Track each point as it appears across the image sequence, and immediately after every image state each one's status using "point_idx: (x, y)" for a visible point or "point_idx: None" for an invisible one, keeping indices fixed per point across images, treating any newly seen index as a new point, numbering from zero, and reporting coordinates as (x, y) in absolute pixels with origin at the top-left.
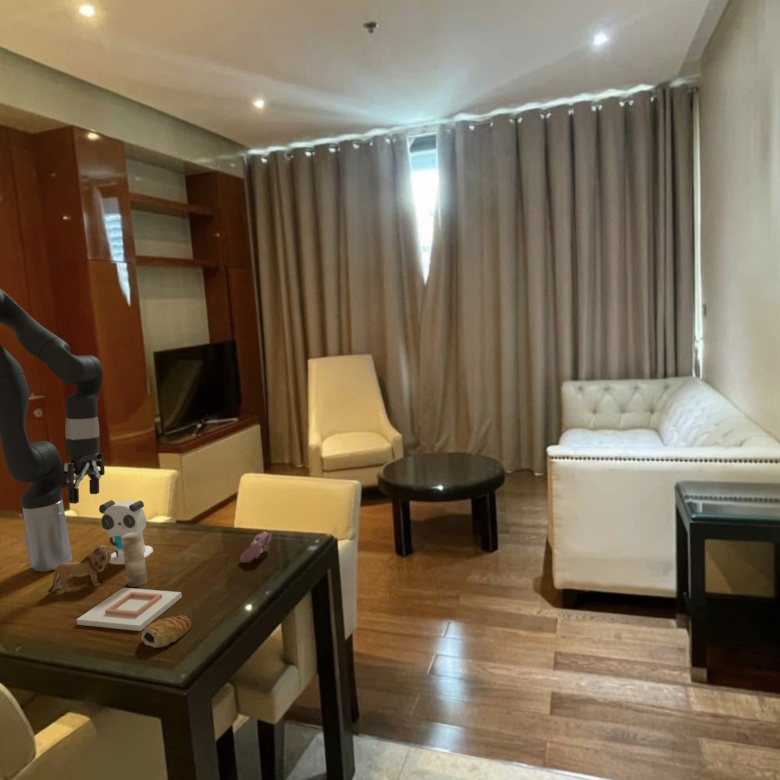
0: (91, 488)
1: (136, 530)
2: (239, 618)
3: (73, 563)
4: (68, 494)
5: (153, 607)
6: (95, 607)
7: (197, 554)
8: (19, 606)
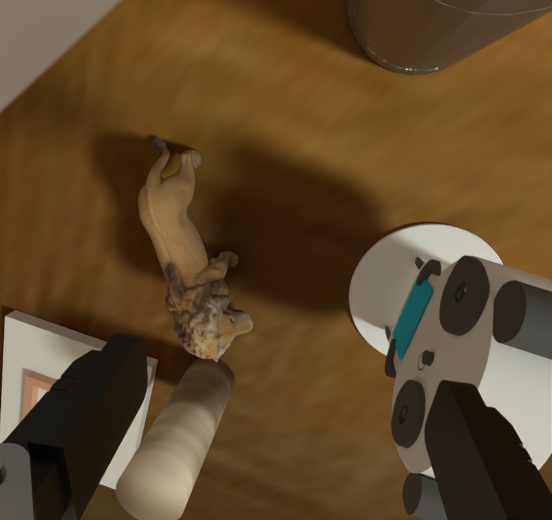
0: (454, 433)
1: (392, 406)
2: None
3: (159, 241)
4: (38, 402)
5: None
6: (56, 337)
7: (366, 484)
8: (88, 84)
